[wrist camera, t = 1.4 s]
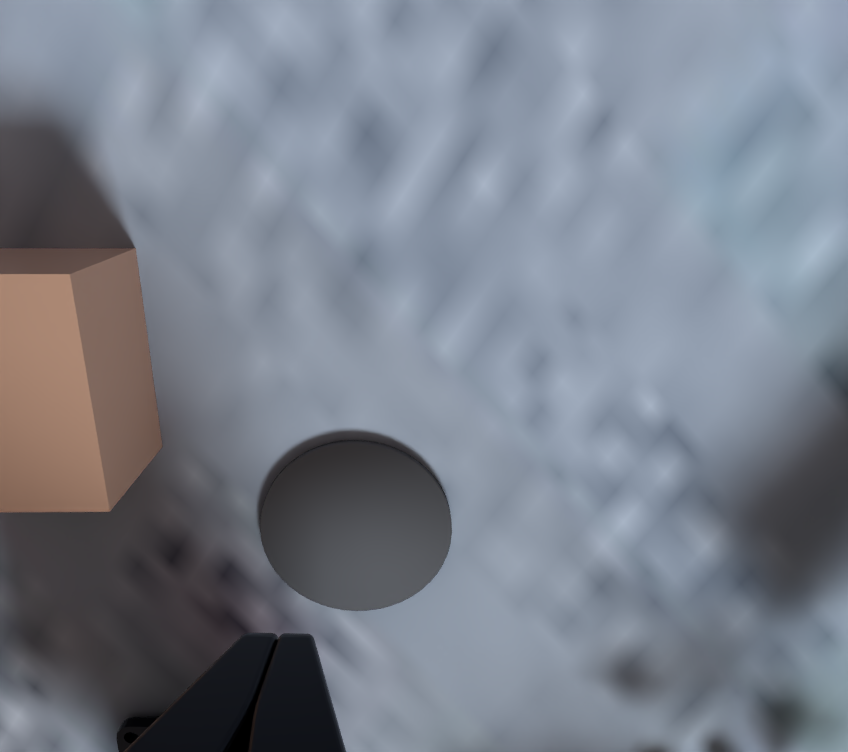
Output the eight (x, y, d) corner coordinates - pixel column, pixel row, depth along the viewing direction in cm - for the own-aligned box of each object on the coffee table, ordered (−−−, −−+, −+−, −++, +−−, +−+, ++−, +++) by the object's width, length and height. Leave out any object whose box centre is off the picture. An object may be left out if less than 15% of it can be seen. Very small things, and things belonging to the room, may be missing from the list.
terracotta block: (164, 444, 21) (110, 511, 17) (-34, 445, 21) (-133, 513, 17) (138, 247, 19) (70, 274, 15) (-81, 246, 19) (-206, 273, 15)
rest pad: (447, 606, 23) (447, 612, 22) (265, 603, 23) (264, 609, 22) (455, 442, 21) (456, 447, 20) (258, 437, 21) (255, 442, 20)
